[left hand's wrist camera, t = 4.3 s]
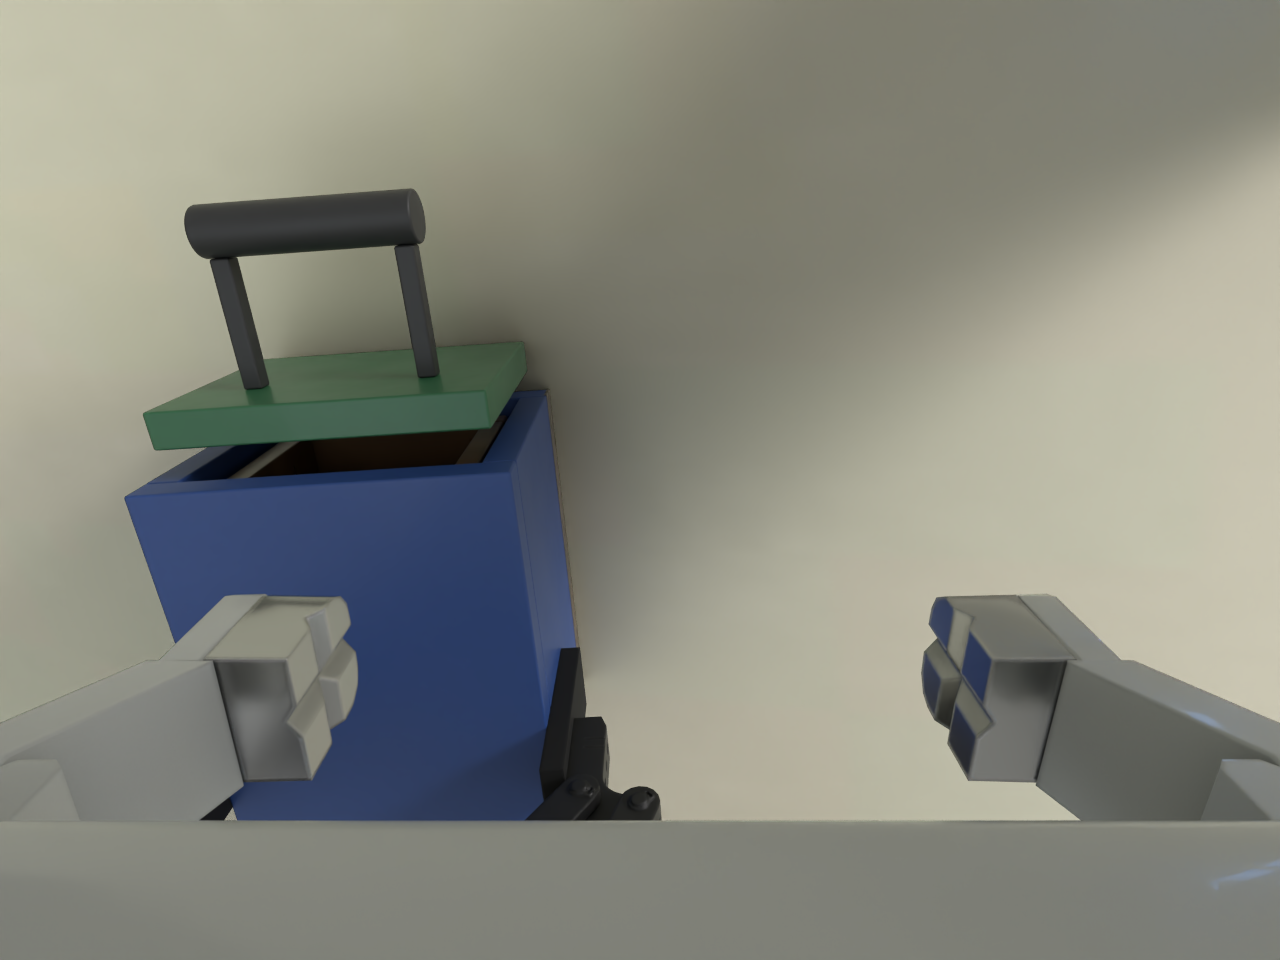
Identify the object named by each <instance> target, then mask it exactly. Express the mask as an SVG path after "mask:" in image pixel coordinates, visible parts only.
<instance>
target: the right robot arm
mask: <svg viewBox="0 0 1280 960" xmlns="http://www.w3.org/2000/svg"><path fill="white" fill-rule="evenodd" d="M585 712H586V696H585V688H584V679H583V670H582V662H581V653H580V647H575V648H561V651H560V656H559V662H558V668H557V673H556V679H555V685H554V690H553V696H552V702H551V707H550V713H549V719H548V724H547V728H546V734H545V739H544V745H543V751H542V756H541V762H540V768H539V774H540V780H541V787H542V794H543V800H544V802H543V803H542V804H541V805H539V806H538V807H537V808H536V809H535V810H534V811H533V812H532V813H531V814H530V815H529V816H528V817H527V818H526V819H525V820H524V821H662V820H661V807H660V799H659V796H658V794H657V793H656V792H655V791H654V790H653V789H650V788H648V787H641V786H638V787H634V788H630V789H629V790H627V791H625V792H624V793H623V794H620V793H617V792H614V791H612V790H610V789H609V788H608V778H609V761H610V756H609V747H608V738H607V728H606V725H605V723H604V721H603V719H602V717H585ZM232 807H233V806H232V804H231V801H230V798H227V799H226V800H225V801H224V802H222V803H221V804H220V805H218V806H217V807H216V808H214V809H213V810H212V811H211V812H209V813H208V814H207V815H205V816H204V817H203V818H201V819H200V820H215V821H216V820H218V821H224V820H225V818H226V817H227V815H228V813H229V812H230V810H231V809H232Z"/></svg>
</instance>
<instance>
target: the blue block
mask: <svg viewBox="0 0 1280 960" xmlns="http://www.w3.org/2000/svg"><path fill="white" fill-rule="evenodd" d="M504 415H505V416H507V421H506V423H505V425H504V426H503V428H502V430H501V431H500V433H499V435H498V437H497V438H496V440H495V442H494V443H493V445H492V447H491V448H490V450H489V452H488V454H487V455H486V457H485V459H484V460H483V462H482V463H472V464H456V465H441V466H425V467H410V468H394V469H379V470H363V471H348V472H332V473H317V474H301V475H285V476H270V477H254V478H239V479H228V478H229V477H231V476H232V475H234V474H235V473H236V472H238V471H239V470H241V469H242V468H244V467H245V466H246V465H248V464H249V463H251V462H252V461H254V460H255V459H257V458H258V457H259V456H261V455H262V454H264V453H265V452H267V451H268V450H269V449H271V448H272V447H274V446H275V445H277V444H278V443H265V444H249V445H234V446H219V447H208V448H206V449H204V450H203V451H201V452H199V453H198V454H196V455H194V456H192V457H191V458H189V459H187V460H186V461H184V462H182V463H181V464H179V465H177V466H176V467H174V468H172V469H171V470H169V471H167V472H165V473H164V474H162V475H160V476H159V477H157V478H155V479H154V480H152V481H150V482H149V483H147V484H146V485H144V486H142V487H141V488H139V489H137V490H135V491H134V492H132V493H130V494H129V495H127V496H125V502H126V505H127V507H128V510H129V513H130V516H131V519H132V522H133V525H134V527H135V530H136V533H137V536H138V539H139V542H140V544H141V547H142V550H143V553H144V556H145V559H146V562H147V564H148V567H149V570H150V573H151V576H152V579H153V581H154V584H155V587H156V590H157V593H158V596H159V599H160V601H161V604H162V607H163V610H164V613H165V616H166V618H167V621H168V624H169V627H170V630H171V633H172V636H173V638H174V641H175V644H176V643H177V642H178V641H179V640H180V639H181V638H182V637H183V636H184V635H185V634H186V633H187V632H188V631H189V630H190V629H191V628H192V627H194V626H195V625H196V624H197V623H198V622H199V621H200V620H201V619H202V618H203V617H204V616H205V615H206V614H207V613H208V612H209V611H210V610H211V609H212V608H213V607H214V606H215V605H216V604H217V603H218V602H219V601H220V600H221V599H222V598H223V597H225V596H229V595H241V594H266V595H315V596H341V597H342V598H343V599H344V600H345V602H346V603H347V606H348V610H349V615H350V620H351V625H350V627H349V629H348V630H347V632H346V633H345V635H344V636H343V639H344V640H345V641H346V642H347V643H348V644H349V645H350V646H351V647H352V648H353V649H354V650H355V651H356V655H357V662H358V687H357V692H356V696H355V700H354V705H353V707H352V709H351V711H350V713H349V714H348V716H347V718H346V720H345V721H343V722H342V723H340V724H339V725H337V726H336V727H334V728H332V729H331V730H330V731H331V737H332V743H333V744H332V746H331V747H330V749H329V751H328V753H327V754H326V756H325V758H324V760H323V762H322V763H321V765H320V767H319V769H318V770H317V772H316V774H315V776H314V778H313V779H312V781H278V782H243V783H244V786H243V787H242V788H240V789H239V790H238V791H237V792H235V793H234V794H233V795H231V796H230V797H229V798H230V801H231V804H232V806H233V809H234V812H235V815H236V818H237V821H524V820H525V819H526V818H527V817H528V816H529V815H530V814H531V813H532V812H533V811H534V810H535V809H536V808H537V807H538V806H539V805H541V804H542V803H543V802H544V800H543V794H542V787H541V780H540V774H539V768H540V762H541V756H542V751H543V745H544V739H545V734H546V728H547V724H548V719H549V713H550V707H551V702H552V696H553V690H554V685H555V679H556V673H557V668H558V662H559V656H560V651H561V648H575V647H579V640H578V631H577V623H576V614H575V605H574V597H573V588H572V580H571V571H570V562H569V554H568V545H567V537H566V528H565V520H564V511H563V502H562V494H561V485H560V477H559V468H558V459H557V451H556V442H555V434H554V425H553V417H552V408H551V399H550V391H549V389H546V390H537V391H522V392H514V393H513V394H512V396H511V397H510V399H509V400H508V402H507V404H506V405H505V407H504V408H503V410H502V412H501V413H500V415H499V416H504Z"/></svg>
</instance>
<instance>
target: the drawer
mask: <svg viewBox="0 0 1280 960" xmlns="http://www.w3.org/2000/svg"><path fill="white" fill-rule="evenodd" d="M184 224H185V231H186V235H187V238H188V240H189V242H190V244H191V246H192V248H193V249H194V251H195V252H196V253H197V254H198V255H199V256H201V257H203V258H206V259H211V260H210V264H211V268H212V271H213V275H214V279H215V283H216V286H217V290H218V294H219V297H220V301H221V305H222V308H223V312H224V316H225V319H226V323H227V327H228V331H229V334H230V338H231V342H232V345H233V349H234V353H235V356H236V360H237V364H238V367H239V371H236V372H234V373H232V374H230V375H227V376H225V377H223V378H221V379H218V380H216V381H214V382H212V383H209V384H207V385H205V386H203V387H200V388H198V389H196V390H194V391H191V392H189V393H187V394H185V395H183V396H180V397H178V398H176V399H174V400H171V401H169V402H167V403H165V404H162V405H160V406H158V407H156V408H153V409H151V410H149V411H147V412H145V413H143V417H144V420H145V423H146V426H147V429H148V432H149V435H150V438H151V441H152V444H153V447H154V449H155V450H173V449H188V448H204V447H219V446H234V445H249V444H265V443H278V444H277V445H275V446H274V447H272V448H271V449H269V450H268V451H267V452H265V453H264V454H262V455H261V456H259V457H258V458H257V459H255V460H254V461H252V462H251V463H249V464H248V465H246V466H245V467H244V468H242V469H241V470H239V471H238V472H236V473H235V474H234V475H232V476H231V477H229V478H228V479H239V478H254V477H270V476H285V475H301V474H317V473H332V472H348V471H363V470H379V469H394V468H410V467H425V466H441V465H456V464H472V463H482V462H483V460H484V459H485V457H486V455H487V454H488V452H489V450H490V448H491V447H492V445H493V443H494V442H495V440H496V438H497V437H498V435H499V433H500V431H501V430H502V428H503V426H504V425H505V423H506V421H507V416H505V415H504V416H499V415H500V413H501V412H502V410H503V408H504V407H505V405H506V404H507V402H508V400H509V399H510V397H511V396H512V394H513V393H514V391H515V389H516V388H517V386H518V385H519V383H520V382H521V380H522V378H523V377H524V375H525V374H526V372H527V365H526V357H525V349H524V343H523V342H509V343H494V344H480V345H465V346H451V347H436V346H435V340H434V334H433V328H432V322H431V316H430V310H429V305H428V299H427V293H426V287H425V281H424V275H423V269H422V263H421V258H420V252H419V246H418V244H420V243H422V242H423V241H424V238H425V230H426V227H425V216H424V211H423V207H422V203H421V201H420V198H419V196H418V194H417V192H416V191H415V190H413V189H399V190H386V191H372V192H359V193H346V194H332V195H319V196H306V197H292V198H279V199H265V200H252V201H239V202H225V203H212V204H198V205H192V206H190V207H189V208H188V209H187V211H186V213H185V218H184ZM394 245H397V246H395V248H394V249H395V255H396V260H397V266H398V271H399V277H400V282H401V288H402V293H403V299H404V304H405V310H406V315H407V321H408V326H409V332H410V337H411V343H412V348H413V349H407V350H393V351H378V352H363V353H349V354H334V355H320V356H305V357H291V358H276V359H263V356H262V352H261V348H260V344H259V340H258V336H257V332H256V329H255V325H254V321H253V317H252V313H251V309H250V305H249V301H248V298H247V294H246V290H245V286H244V282H243V278H242V274H241V270H240V266H239V263H238V259H237V257H242V256H256V255H270V254H283V253H297V252H311V251H325V250H339V249H352V248H366V247H380V246H394Z"/></svg>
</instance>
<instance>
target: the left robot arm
mask: <svg viewBox="0 0 1280 960" xmlns="http://www.w3.org/2000/svg"><path fill="white" fill-rule="evenodd" d="M350 625H351V620H350V615H349V610H348V606H347V603H346V602H345V600H344V599H343V598H342V597H341V596H315V595H266V594H241V595H229V596H225V597H223V598H222V599H221V600H220V601H219V602H218V603H217V604H216V605H215V606H214V607H213V608H212V609H211V610H210V611H209V612H208V613H207V614H206V615H205V616H204V617H203V618H202V619H201V620H200V621H199V622H198V623H197V624H196V625H195V626H194V627H192V628H191V629H190V630H189V631H188V632H187V633H186V634H185V635H184V636H183V637H182V638H181V639H180V640H179V641H178V642H177V643H176V644H175V645H174V646H173V647H172V648H171V649H170V650H169V651H168V652H167V653H166V654H165V655H164V656H163V657H161V658H160V659H159V660H146V661H144V662H142V663H139V664H137V665H135V666H132V667H130V668H128V669H125V670H123V671H120V672H118V673H116V674H113V675H111V676H109V677H106V678H104V679H102V680H99V681H97V682H95V683H92V684H90V685H88V686H85V687H83V688H81V689H78V690H76V691H74V692H71V693H69V694H67V695H64V696H62V697H60V698H57V699H55V700H53V701H50V702H48V703H46V704H43V705H41V706H39V707H36V708H34V709H32V710H29V711H27V712H25V713H22V714H20V715H18V716H15V717H13V718H11V719H8V720H6V721H4V722H1V723H0V960H1280V723H1278V722H1276V721H1274V720H1271V719H1269V718H1267V717H1264V716H1262V715H1260V714H1257V713H1255V712H1253V711H1250V710H1248V709H1246V708H1243V707H1241V706H1239V705H1236V704H1234V703H1232V702H1229V701H1227V700H1225V699H1222V698H1220V697H1218V696H1215V695H1213V694H1211V693H1208V692H1206V691H1204V690H1201V689H1199V688H1197V687H1194V686H1192V685H1190V684H1187V683H1185V682H1183V681H1180V680H1178V679H1176V678H1173V677H1171V676H1169V675H1166V674H1164V673H1162V672H1159V671H1157V670H1155V669H1152V668H1150V667H1148V666H1145V665H1143V664H1141V663H1138V662H1136V661H1134V660H1121V659H1120V658H1119V657H1118V656H1116V655H1115V654H1114V653H1113V652H1112V651H1111V650H1110V649H1109V648H1108V647H1107V646H1106V645H1105V644H1104V643H1103V642H1102V641H1101V640H1100V639H1099V638H1098V637H1097V636H1096V635H1095V634H1094V633H1093V632H1092V631H1091V630H1090V629H1089V628H1088V627H1087V626H1086V625H1085V624H1084V623H1082V622H1081V621H1080V620H1079V619H1078V618H1077V617H1076V616H1075V615H1074V614H1073V613H1072V612H1071V611H1070V610H1069V609H1068V608H1067V607H1066V606H1065V605H1064V604H1063V603H1062V602H1061V601H1060V600H1059V599H1058V598H1057V597H1055V596H1052V595H1049V594H1028V595H988V596H947V597H937V598H936V600H935V602H934V604H933V606H932V609H931V614H930V620H929V625H930V627H931V629H932V630H933V632H934V633H935V635H936V636H937V639H936V640H935V641H934V642H933V643H932V644H931V645H930V646H929V647H928V648H927V649H926V650H925V651H924V656H923V664H922V671H921V675H922V686H923V694H924V697H925V701H926V704H927V707H928V709H929V711H930V713H931V715H932V716H933V718H934V720H935V721H937V722H938V723H940V724H941V725H943V726H944V727H946V728H948V729H949V730H950V731H949V737H948V743H947V744H948V746H949V747H950V749H951V751H952V753H953V754H954V756H955V758H956V760H957V761H958V763H959V765H960V767H961V769H962V770H963V772H964V774H965V776H966V777H967V779H968V781H1001V782H1037V783H1036V786H1037V787H1039V788H1040V789H1041V790H1042V791H1044V792H1045V793H1046V794H1048V795H1049V796H1050V797H1052V798H1053V799H1054V800H1055V801H1057V802H1058V803H1059V804H1061V805H1062V806H1063V807H1065V808H1066V809H1067V810H1068V811H1070V812H1071V813H1072V814H1074V815H1075V816H1076V817H1078V818H1079V819H1080V820H1081V821H218V820H216V821H215V820H200V819H201V818H203V817H204V816H205V815H207V814H208V813H209V812H211V811H212V810H213V809H214V808H216V807H217V806H218V805H220V804H221V803H222V802H224V801H225V800H226V799H227V798H229V797H230V796H231V795H233V794H234V793H235V792H237V791H238V790H239V789H240V788H242V787H243V786H244V783H243V782H278V781H312V779H313V778H314V776H315V774H316V772H317V770H318V769H319V767H320V765H321V763H322V762H323V760H324V758H325V756H326V754H327V753H328V751H329V749H330V747H331V746H332V744H333V743H332V737H331V731H330V730H331V729H332V728H334V727H336V726H337V725H339V724H340V723H342V722H343V721H345V720H346V718H347V716H348V714H349V713H350V711H351V709H352V707H353V705H354V700H355V696H356V692H357V687H358V662H357V655H356V651H355V650H354V649H353V648H352V647H351V646H350V645H349V644H348V643H347V642H346V641H345V640H344V639H343V636H344V635H345V633H346V632H347V630H348V629H349V627H350Z"/></svg>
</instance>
